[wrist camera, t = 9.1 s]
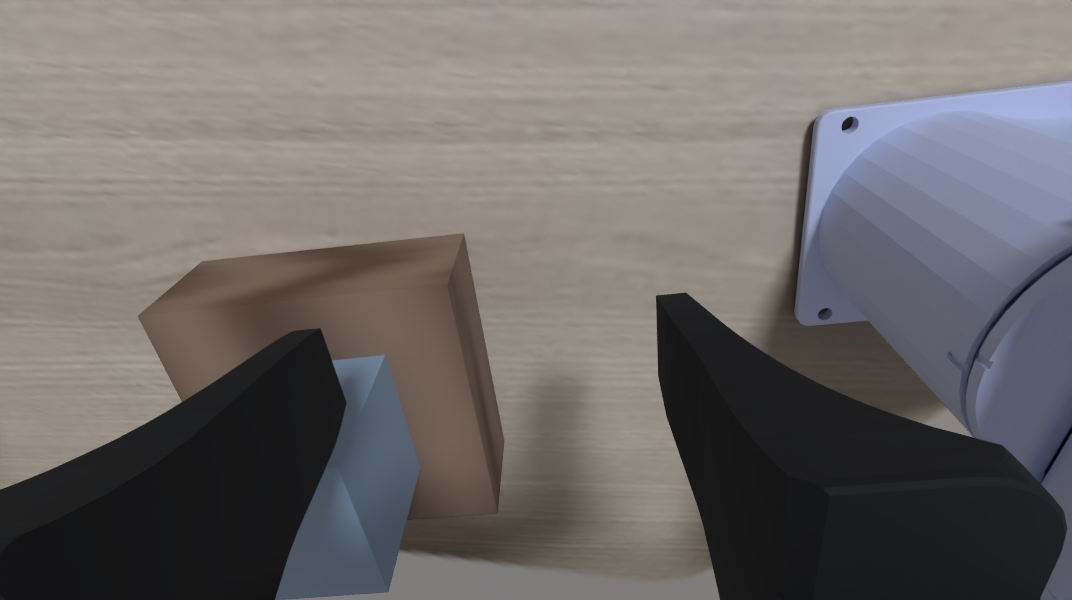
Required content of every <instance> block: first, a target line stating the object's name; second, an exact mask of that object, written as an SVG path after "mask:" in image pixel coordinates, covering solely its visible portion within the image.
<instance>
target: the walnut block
mask: <svg viewBox="0 0 1072 600" xmlns="http://www.w3.org/2000/svg"><path fill="white" fill-rule="evenodd" d="M138 318H139V320H140V322H141V324H142V325H143V327H144V329H145V331H146V333H147V335H148V337H149V339H150V341H151V343H152V345H153V347H154V349H155V351H156V352H157V354H158V356H159V358H160V360H161V362H162V364H163V366H164V368H165V370H166V372H167V374H168V376H169V377H170V379H171V381H172V383H173V385H174V387H175V389H176V391H177V393H178V395H179V397H180V399H181V401H182V402H183V401H185V400H186V399H188V398H189V397H191V396H192V395H194V394H196V393H197V392H199V391H200V390H202V389H204V388H205V387H207V386H208V385H210V384H211V383H213V382H215V381H216V380H218V379H219V378H221V377H222V376H223V375H225V374H226V373H228V372H229V371H231V370H232V369H234V368H235V367H237V366H238V365H240V364H241V363H243V362H244V361H246V360H247V359H249V358H250V357H252V356H253V355H255V354H256V353H258V352H259V351H261V350H262V349H264V348H265V347H267V346H268V345H270V344H271V343H273V342H274V341H276V340H278V339H279V338H281V337H283V336H284V335H286V334H288V333H290V332H292V331H296V330H306V329H316V328H321V331H322V333H323V336H324V339H325V342H326V345H327V348H328V351H329V353H330V356H331V359H332V360H342V359H351V358H361V357H371V356H380V355H385V356H386V359H387V362H388V365H389V369H390V372H391V375H392V378H393V381H394V385H395V388H396V391H397V394H398V397H399V401H400V404H401V407H402V410H403V413H404V417H405V420H406V423H407V426H408V429H409V433H410V436H411V439H412V442H413V445H414V449H415V452H416V455H417V458H418V461H419V465H420V470H419V474H418V478H417V482H416V486H415V490H414V494H413V498H412V501H411V505H410V509H409V513H408V517H407V520H412V519H426V518H440V517H454V516H468V515H483V514H497V513H498V503H499V492H500V482H501V471H502V460H503V450H504V437H503V432H502V427H501V422H500V417H499V412H498V406H497V401H496V396H495V391H494V386H493V381H492V376H491V371H490V365H489V360H488V355H487V350H486V345H485V340H484V335H483V330H482V324H481V319H480V314H479V309H478V304H477V299H476V294H475V289H474V283H473V278H472V273H471V268H470V263H469V258H468V253H467V247H466V242H465V237H464V234H455V235H446V236H437V237H427V238H418V239H409V240H399V241H390V242H381V243H371V244H362V245H353V246H343V247H334V248H325V249H315V250H306V251H297V252H287V253H278V254H269V255H259V256H250V257H241V258H231V259H222V260H213V261H203V262H201V263H200V264H199V265H197V266H196V267H195V268H194V269H193V270H191V271H190V272H189V273H188V274H187V275H186V276H184V277H183V278H182V279H181V280H180V281H178V282H177V283H176V284H175V285H174V286H173V287H171V288H170V289H169V290H168V291H167V292H165V293H164V294H163V295H162V296H161V297H160V298H158V299H157V300H156V301H155V302H154V303H152V304H151V305H150V306H149V307H148V308H146V309H145V310H144V311H143V312H142V313H141V314H139V315H138Z"/></svg>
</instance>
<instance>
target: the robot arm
mask: <svg viewBox="0 0 1072 600" xmlns="http://www.w3.org/2000/svg"><path fill="white" fill-rule="evenodd" d="M849 117H853V123H852V126H851V127H850V128H849V129H847V130H844V131H842V127H841V126H842V123H843V121H844V120H845V119H846V118H849ZM656 308H657V344H658V376H659V381H660V387H661V392H662V397H663V401H664V406H665V411H666V416H667V419H668V422H669V425H670V428H671V430H672V433H673V436H674V439H675V442H676V445H677V448H678V451H679V454H680V457H681V459H682V462H683V465H684V468H685V471H686V474H687V477H688V480H689V482H690V485H691V488H692V491H693V494H694V497H695V500H696V503H697V506H698V509H699V512H700V516H701V519H702V523H703V526H704V531H705V535H706V539H707V544H708V548H709V552H710V556H711V561H712V565H713V569H714V574H715V578H716V583H717V587H718V592H719V596H720V600H1072V80H1071V81H1063V82H1054V83H1046V84H1037V85H1029V86H1020V87H1012V88H1003V89H995V90H986V91H978V92H969V93H961V94H952V95H944V96H935V97H927V98H918V99H910V100H901V101H893V102H884V103H876V104H867V105H859V106H850V107H842V108H833V109H829V110H825V111H824V112H822V113H821V114H820V115H819V116H818V117H817V119H816V120H815V123H814V126H813V135H812V145H811V155H810V165H809V174H808V184H807V194H806V204H805V213H804V223H803V233H802V243H801V252H800V262H799V272H798V282H797V291H796V301H795V311H794V313H795V317H796V318H797V320H798V321H799V322H800V324H802V325H804V326H815V325H826V324H837V323H848V322H859V321H869V322H870V323H871V325H872V326H873V327H874V328H875V329H876V330H877V331H878V332H879V333H880V334H881V336H882V337H883V338H884V339H885V340H886V341H887V342H888V343H889V344H890V345H891V347H892V348H893V349H894V350H895V351H896V352H897V353H898V354H899V355H900V356H901V358H902V359H903V360H904V361H905V362H906V363H907V364H908V365H909V366H910V368H911V369H912V370H913V371H914V372H915V373H916V374H917V375H918V376H919V377H920V379H921V380H922V381H923V382H924V383H925V384H926V385H927V386H928V387H929V388H930V390H931V391H932V392H933V393H934V394H935V395H936V396H937V397H938V398H939V399H940V401H941V402H942V403H943V404H944V405H945V406H946V407H947V408H948V409H949V411H950V412H951V413H952V414H953V415H954V416H955V417H956V418H957V419H958V420H959V422H960V423H961V424H962V425H963V426H964V427H965V428H966V429H967V430H968V431H969V433H970V434H971V435H972V436H973V437H974V438H973V437H969V436H965V435H961V434H958V433H954V432H950V431H946V430H942V429H938V428H934V427H931V426H928V425H924V424H921V423H918V422H915V421H912V420H909V419H906V418H903V417H900V416H897V415H894V414H891V413H888V412H886V411H883V410H880V409H877V408H875V407H872V406H869V405H867V404H864V403H862V402H859V401H857V400H855V399H852V398H850V397H848V396H845V395H843V394H841V393H838V392H836V391H833V390H831V389H829V388H827V387H825V386H823V385H821V384H819V383H817V382H815V381H813V380H811V379H809V378H807V377H805V376H803V375H801V374H799V373H798V372H796V371H794V370H792V369H790V368H788V367H786V366H785V365H783V364H781V363H780V362H778V361H776V360H775V359H773V358H772V357H770V356H768V355H767V354H765V353H764V352H762V351H761V350H759V349H758V348H756V347H755V346H753V345H752V344H750V343H749V342H747V341H746V340H745V339H743V338H742V337H740V336H739V335H738V334H736V333H735V332H734V331H732V330H731V329H730V328H728V327H727V326H726V325H725V324H723V323H722V322H721V321H719V320H718V319H717V318H716V317H715V316H713V315H712V314H711V313H710V312H709V311H707V310H706V309H705V308H704V307H703V306H701V305H700V304H699V303H698V302H697V301H695V300H694V299H693V298H692V297H691V296H689V295H688V294H687V293H678V294H668V295H658V296H656ZM824 308H828V310H827V312H825V313H824V314H821V315H818V313H819V311H821V310H822V309H824ZM346 404H347V402H346V399H345V396H344V394H343V391H342V388H341V385H340V382H339V379H338V376H337V374H336V371H335V368H334V365H333V362H332V359H331V356H330V353H329V351H328V348H327V345H326V342H325V339H324V336H323V333H322V331H321V328H316V329H306V330H296V331H292V332H290V333H288V334H286V335H284V336H283V337H281V338H279V339H278V340H276V341H274V342H273V343H271V344H270V345H268V346H267V347H265V348H264V349H262V350H261V351H259V352H258V353H256V354H255V355H253V356H252V357H250V358H249V359H247V360H246V361H244V362H243V363H241V364H240V365H238V366H237V367H235V368H234V369H232V370H231V371H229V372H228V373H226V374H225V375H223V376H222V377H221V378H219V379H218V380H216V381H215V382H213V383H211V384H210V385H208V386H207V387H205V388H204V389H202V390H200V391H199V392H197V393H196V394H194V395H192V396H191V397H189V398H188V399H186V400H185V401H183V402H181V403H180V404H178V405H177V406H175V407H173V408H172V409H170V410H169V411H167V412H165V413H163V414H162V415H160V416H158V417H156V418H155V419H153V420H151V421H149V422H148V423H146V424H144V425H142V426H140V427H138V428H136V429H135V430H133V431H131V432H129V433H127V434H125V435H123V436H121V437H120V438H118V439H116V440H114V441H112V442H110V443H108V444H105V445H103V446H101V447H99V448H97V449H95V450H93V451H90V452H88V453H86V454H84V455H82V456H80V457H77V458H75V459H73V460H71V461H69V462H67V463H64V464H62V465H60V466H58V467H56V468H53V469H51V470H49V471H46V472H44V473H41V474H39V475H37V476H34V477H32V478H29V479H27V480H24V481H22V482H19V483H17V484H14V485H12V486H9V487H6V488H4V489H1V490H0V600H275V598H276V595H277V591H278V588H279V585H280V582H281V579H282V576H283V572H284V569H285V566H286V563H287V560H288V556H289V553H290V550H291V548H292V545H293V543H294V540H295V538H296V535H297V532H298V530H299V528H300V525H301V523H302V521H303V519H304V516H305V514H306V512H307V510H308V507H309V505H310V503H311V500H312V498H313V496H314V494H315V491H316V489H317V487H318V485H319V482H320V480H321V478H322V475H323V473H324V471H325V468H326V466H327V464H328V461H329V459H330V457H331V454H332V452H333V450H334V447H335V445H336V442H337V438H338V435H339V431H340V428H341V424H342V420H343V416H344V412H345V408H346Z"/></svg>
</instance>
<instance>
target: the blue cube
mask: <svg viewBox="0 0 1072 600" xmlns="http://www.w3.org/2000/svg"><path fill="white" fill-rule="evenodd" d="M332 362H333V365H334V368H335V371H336V374H337V376H338V379H339V382H340V385H341V388H342V391H343V394H344V396H345V399H346V402H347V404H346V408H345V412H344V416H343V420H342V424H341V428H340V431H339V435H338V438H337V442H336V445H335V447H334V450H333V452H332V454H331V457H330V459H329V461H328V464H327V466H326V468H325V471H324V473H323V475H322V478H321V480H320V482H319V485H318V487H317V489H316V491H315V494H314V496H313V498H312V500H311V503H310V505H309V507H308V510H307V512H306V514H305V516H304V519H303V521H302V523H301V525H300V528H299V530H298V532H297V535H296V538H295V540H294V543H293V545H292V548H291V550H290V553H289V556H288V560H287V563H286V566H285V569H284V572H283V576H282V579H281V582H280V585H279V588H278V591H277V595H276V598H275V600H284V599H298V598H313V597H327V596H340V595H355V594H369V593H383V592H388V591H389V587H390V583H391V579H392V575H393V571H394V567H395V564H396V560H397V556H398V552H399V548H400V544H401V540H402V536H403V533H404V529H405V525H406V521H407V517H408V513H409V509H410V505H411V501H412V498H413V494H414V490H415V486H416V482H417V478H418V474H419V470H420V465H419V461H418V458H417V455H416V452H415V449H414V445H413V442H412V439H411V436H410V433H409V429H408V426H407V423H406V420H405V417H404V413H403V410H402V407H401V404H400V401H399V397H398V394H397V391H396V388H395V385H394V381H393V378H392V375H391V372H390V369H389V365H388V362H387V359H386V356H385V355H380V356H371V357H361V358H351V359H342V360H332Z"/></svg>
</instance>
